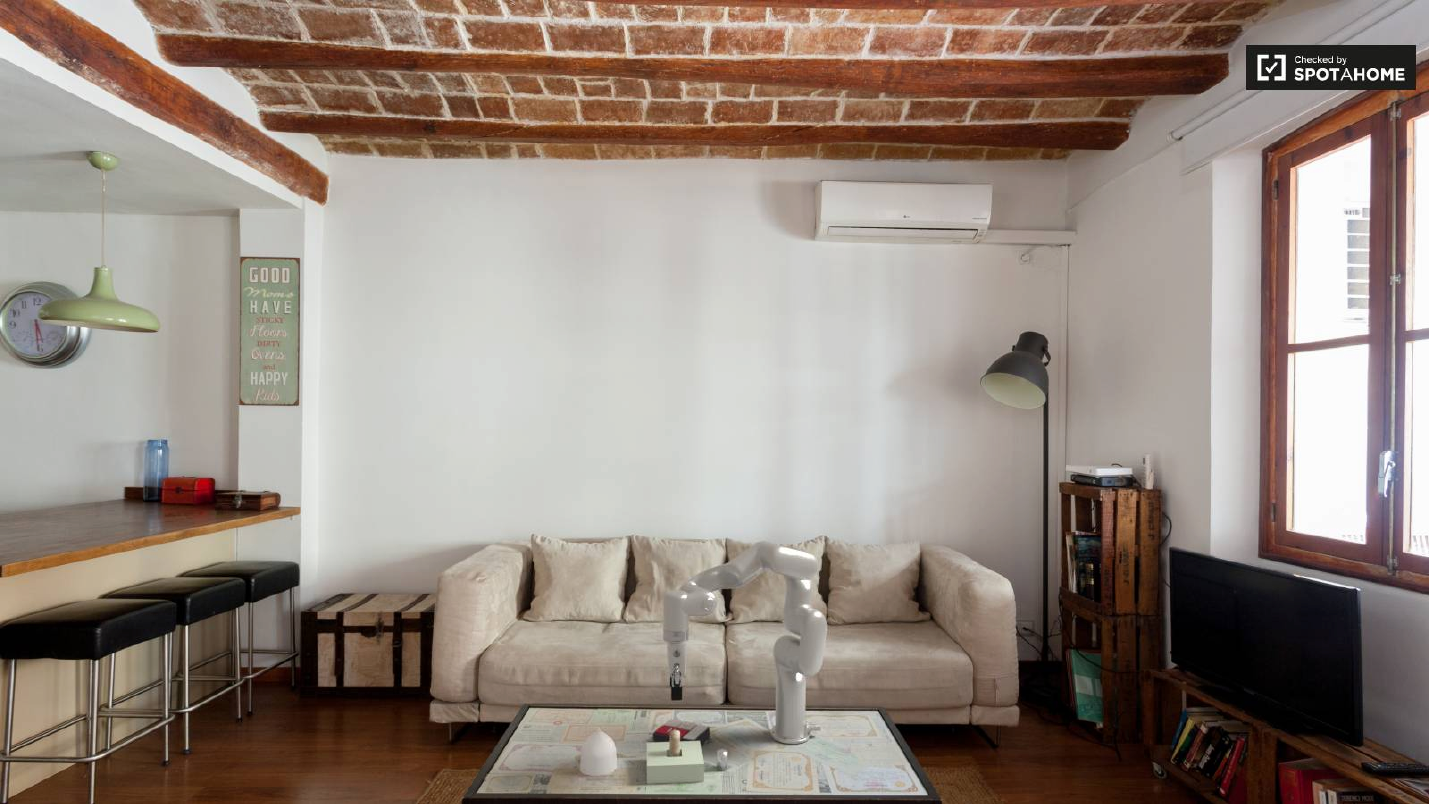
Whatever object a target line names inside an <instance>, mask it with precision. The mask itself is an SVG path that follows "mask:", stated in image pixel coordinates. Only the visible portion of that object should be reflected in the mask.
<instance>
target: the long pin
mask: <svg viewBox="0 0 1429 804" xmlns="http://www.w3.org/2000/svg"><path fill="white" fill-rule="evenodd" d="M669 757H680V731H678V730H672V731H670V739H669Z"/></svg>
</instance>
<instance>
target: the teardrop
mask: <svg viewBox="0 0 1429 804" xmlns="http://www.w3.org/2000/svg"><path fill="white" fill-rule="evenodd" d="M580 751H581V752H580V762H579V771H581V773H582V774H584V775H587V776H592V777H598V776H599V777H601V775H603V776H606V775H608V773H609V774H612V773H613V772H615V771H616V770H617V769H618V758H617V757H618V755H617V746H616V744H615V742H614V740H613V739H612V737H610V736H609V735H608V734H606V733H605V732H604V731H602V729H601V728H600V726H598V727H597V729H596V730H595V731H594V732H593V733H591V734H589V736H588V737H587V739H585V741H584V743H583V744H582V746H581V750H580ZM615 769H616V770H615ZM614 770H615V771H614ZM612 771H613V772H612ZM611 772H612V773H611ZM605 774H606V775H605Z"/></svg>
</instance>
